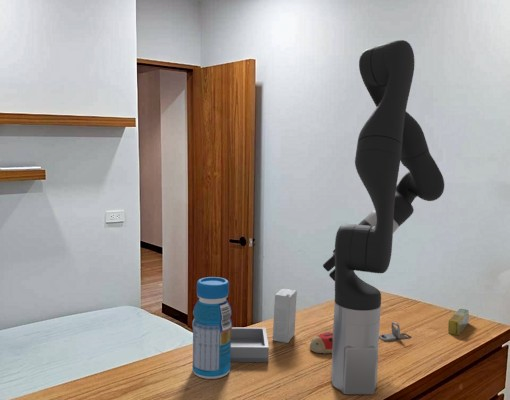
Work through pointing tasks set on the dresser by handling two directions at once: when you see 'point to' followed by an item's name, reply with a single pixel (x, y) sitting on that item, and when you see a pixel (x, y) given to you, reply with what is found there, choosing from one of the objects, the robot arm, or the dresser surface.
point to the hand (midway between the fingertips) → (328, 273)
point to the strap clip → (394, 334)
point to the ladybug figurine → (322, 343)
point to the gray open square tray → (249, 345)
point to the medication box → (458, 322)
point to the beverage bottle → (212, 329)
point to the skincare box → (284, 315)
